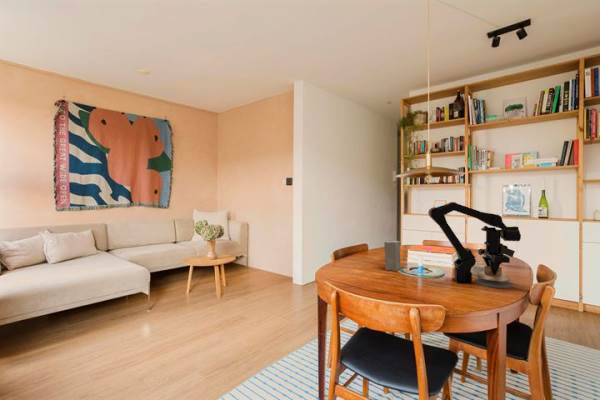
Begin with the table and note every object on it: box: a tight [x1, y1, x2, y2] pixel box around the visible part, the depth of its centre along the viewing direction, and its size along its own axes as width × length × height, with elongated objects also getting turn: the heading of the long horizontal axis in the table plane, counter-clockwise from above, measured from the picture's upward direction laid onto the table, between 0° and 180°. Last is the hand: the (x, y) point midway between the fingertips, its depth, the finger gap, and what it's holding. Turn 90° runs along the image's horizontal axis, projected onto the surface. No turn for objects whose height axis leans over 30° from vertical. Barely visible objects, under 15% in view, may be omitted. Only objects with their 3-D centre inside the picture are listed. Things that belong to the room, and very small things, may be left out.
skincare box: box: [383, 240, 402, 272], centre depth 169 cm, size 8×7×16 cm
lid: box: [477, 266, 511, 282], centre depth 141 cm, size 13×13×5 cm
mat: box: [474, 276, 513, 289], centre depth 141 cm, size 15×15×1 cm
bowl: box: [471, 261, 487, 277], centre depth 156 cm, size 11×11×5 cm
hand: (492, 273), depth 141 cm, fingers closed on lid, 3 cm apart
